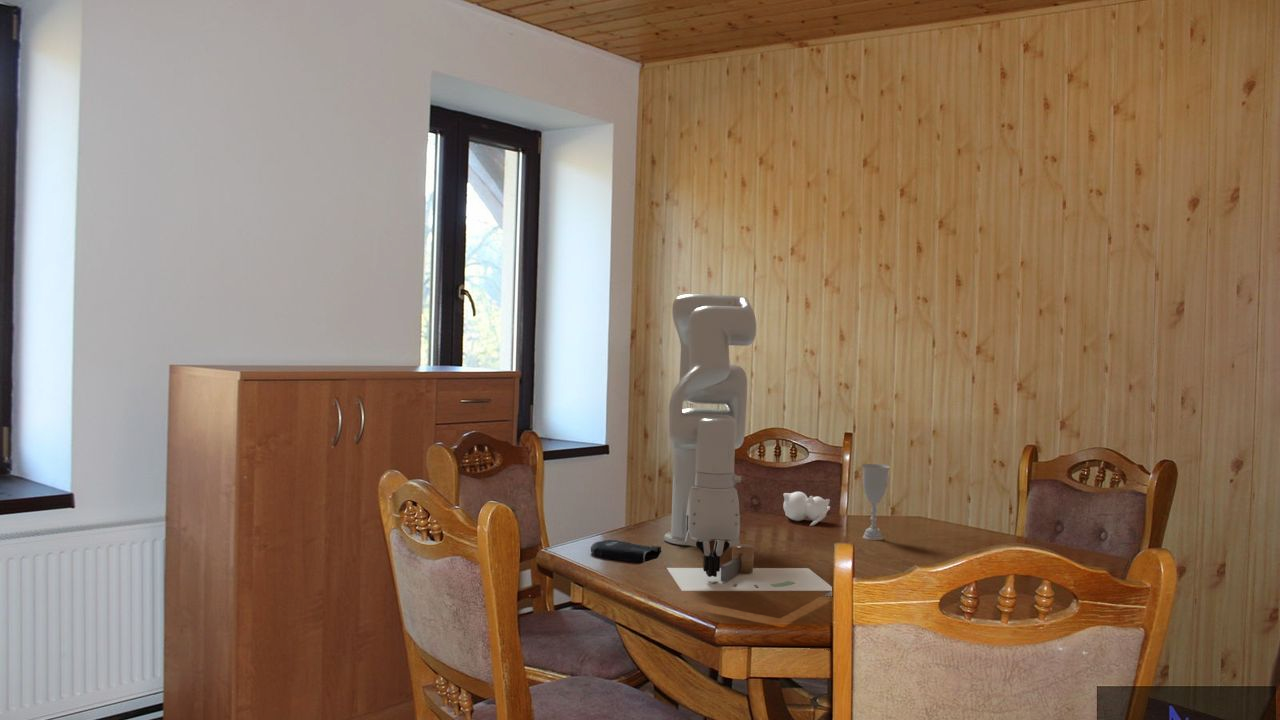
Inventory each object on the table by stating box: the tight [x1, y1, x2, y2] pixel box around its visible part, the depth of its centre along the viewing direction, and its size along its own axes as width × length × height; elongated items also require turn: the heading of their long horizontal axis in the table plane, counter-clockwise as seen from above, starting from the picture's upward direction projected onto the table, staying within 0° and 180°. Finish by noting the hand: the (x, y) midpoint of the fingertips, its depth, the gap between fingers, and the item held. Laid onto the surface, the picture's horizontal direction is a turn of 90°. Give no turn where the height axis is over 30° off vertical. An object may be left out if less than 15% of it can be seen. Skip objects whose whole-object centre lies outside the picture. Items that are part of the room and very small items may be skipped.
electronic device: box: [590, 539, 662, 563], centre depth 221 cm, size 9×6×15 cm
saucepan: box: [720, 543, 755, 582], centre depth 201 cm, size 13×4×5 cm, turn 154°
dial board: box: [666, 567, 833, 598], centre depth 199 cm, size 18×30×1 cm, turn 98°
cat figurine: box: [782, 491, 831, 527], centre depth 269 cm, size 9×11×12 cm
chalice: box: [861, 463, 891, 541], centre depth 250 cm, size 7×7×18 cm
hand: (711, 575), depth 196 cm, fingers closed
